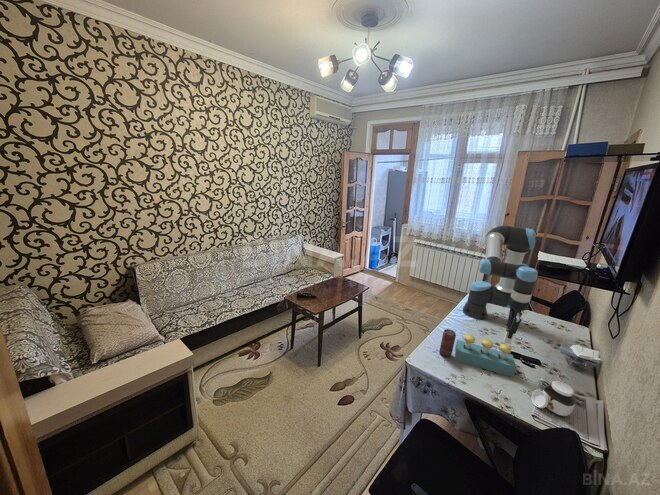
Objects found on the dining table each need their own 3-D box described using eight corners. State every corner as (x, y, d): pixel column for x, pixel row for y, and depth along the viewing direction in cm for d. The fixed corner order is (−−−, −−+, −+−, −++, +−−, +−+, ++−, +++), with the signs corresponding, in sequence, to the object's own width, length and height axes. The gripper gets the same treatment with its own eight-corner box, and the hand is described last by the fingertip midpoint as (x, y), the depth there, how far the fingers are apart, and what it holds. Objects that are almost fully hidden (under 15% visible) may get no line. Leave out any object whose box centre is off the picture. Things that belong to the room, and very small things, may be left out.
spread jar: (573, 416, 110) (582, 394, 107) (556, 424, 106) (565, 401, 103) (542, 393, 121) (550, 372, 117) (525, 400, 117) (533, 378, 113)
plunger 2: (496, 354, 137) (499, 342, 135) (507, 357, 135) (510, 345, 133) (497, 360, 133) (501, 347, 131) (508, 363, 131) (512, 351, 129)
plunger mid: (478, 349, 140) (481, 337, 138) (489, 352, 139) (492, 340, 136) (479, 355, 136) (482, 343, 134) (490, 358, 134) (493, 345, 132)
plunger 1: (462, 345, 143) (464, 333, 141) (472, 348, 142) (475, 335, 139) (462, 350, 139) (465, 338, 137) (472, 353, 137) (475, 341, 135)
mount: (455, 348, 148) (457, 339, 146) (509, 364, 138) (512, 354, 136) (455, 359, 139) (457, 350, 138) (513, 377, 129) (516, 367, 128)
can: (436, 352, 145) (440, 330, 140) (445, 349, 147) (449, 327, 143) (444, 359, 139) (449, 336, 135) (453, 356, 142) (458, 334, 138)
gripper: (507, 292, 132) (496, 333, 138) (512, 303, 120) (500, 347, 127) (526, 295, 129) (513, 337, 136) (532, 307, 117) (518, 352, 124)
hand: (507, 342), depth 131 cm, fingers closed
